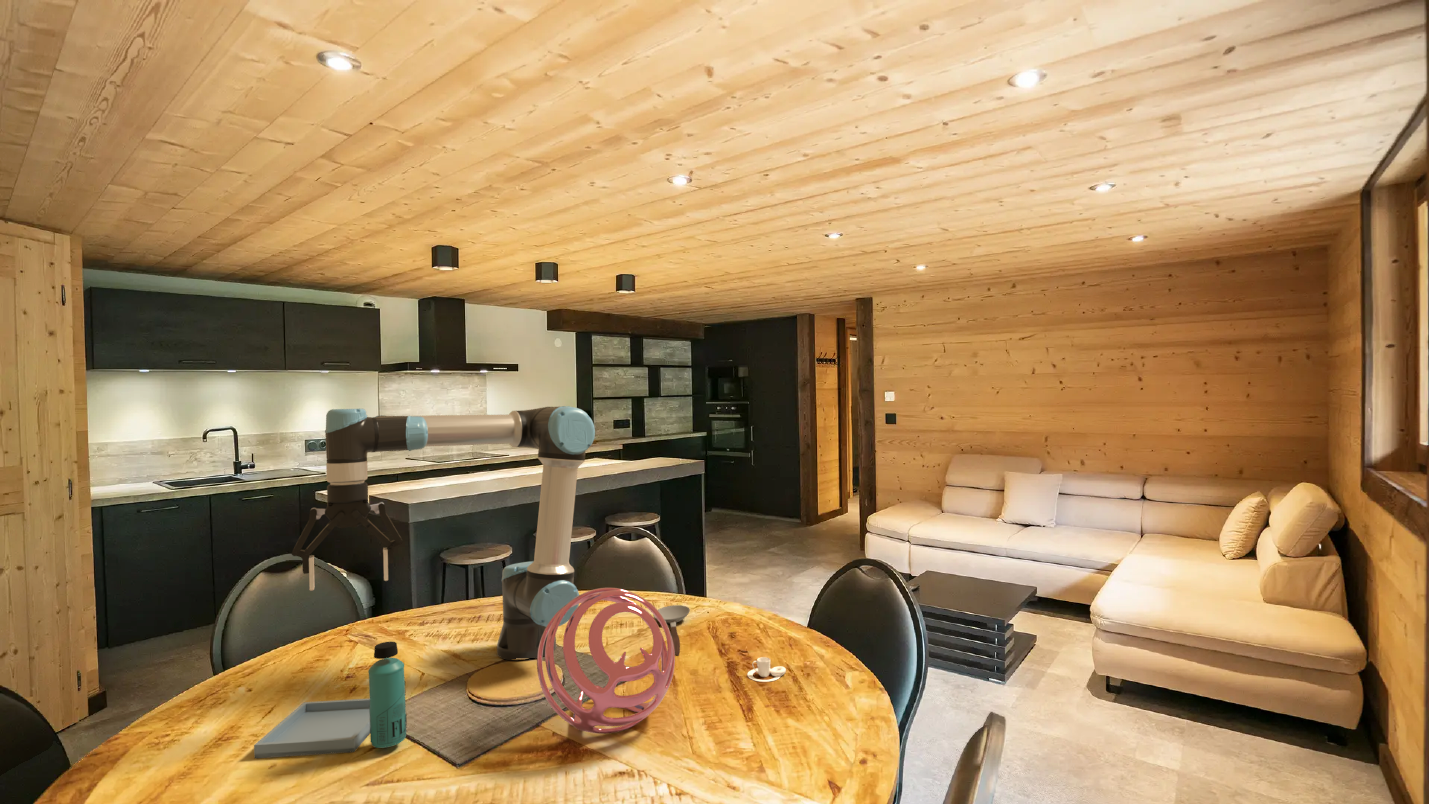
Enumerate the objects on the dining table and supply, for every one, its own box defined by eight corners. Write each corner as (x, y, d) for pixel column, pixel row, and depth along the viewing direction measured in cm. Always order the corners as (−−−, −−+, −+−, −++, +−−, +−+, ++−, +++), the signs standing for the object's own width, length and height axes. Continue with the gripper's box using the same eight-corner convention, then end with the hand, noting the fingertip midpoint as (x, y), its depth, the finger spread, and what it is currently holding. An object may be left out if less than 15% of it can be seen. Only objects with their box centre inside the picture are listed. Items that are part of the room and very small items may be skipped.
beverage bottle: (392, 757, 127) (389, 651, 126) (361, 754, 128) (358, 649, 128) (414, 740, 133) (412, 638, 133) (385, 737, 134) (382, 637, 134)
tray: (391, 708, 147) (390, 697, 147) (354, 752, 129) (353, 739, 129) (304, 713, 145) (303, 702, 145) (254, 758, 127) (254, 745, 127)
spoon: (689, 612, 207) (688, 603, 206) (699, 658, 174) (698, 647, 174) (653, 618, 206) (652, 608, 205) (657, 665, 173) (655, 654, 173)
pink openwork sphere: (529, 608, 152) (563, 559, 133) (645, 619, 163) (692, 576, 144) (515, 745, 135) (552, 712, 116) (646, 748, 146) (699, 718, 127)
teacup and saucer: (788, 673, 162) (788, 656, 162) (777, 686, 155) (777, 668, 155) (754, 667, 166) (754, 651, 166) (742, 680, 158) (741, 663, 158)
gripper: (411, 476, 151) (413, 571, 151) (278, 485, 139) (281, 588, 139) (414, 479, 144) (416, 579, 144) (274, 489, 132) (277, 597, 133)
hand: (349, 584), depth 142 cm, fingers open, 13 cm apart
